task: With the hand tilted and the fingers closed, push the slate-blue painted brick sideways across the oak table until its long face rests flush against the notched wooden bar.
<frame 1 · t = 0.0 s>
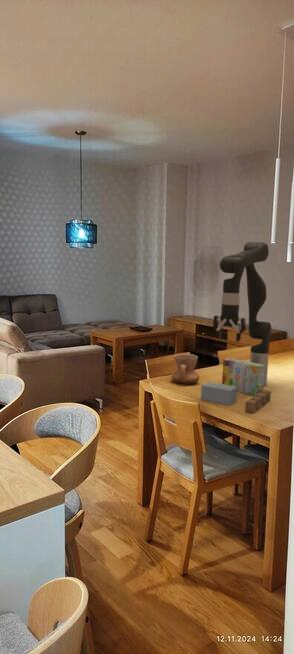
hand: (228, 340, 207), 29 cm above the table, tool pointing down, fingers open, 8 cm apart
snack box: (241, 391, 235), on the table
brick: (218, 401, 218), on the table
notched wooden bar: (258, 406, 212), on the table
ceramic jug: (184, 383, 248), on the table
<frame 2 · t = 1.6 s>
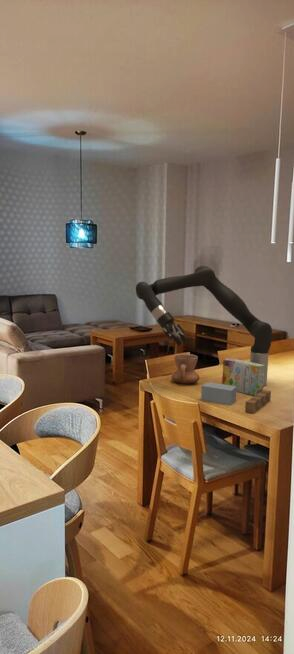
hand: (183, 343, 225), 24 cm above the table, tool tilted 45°, fingers open, 6 cm apart
nothing on the table moved.
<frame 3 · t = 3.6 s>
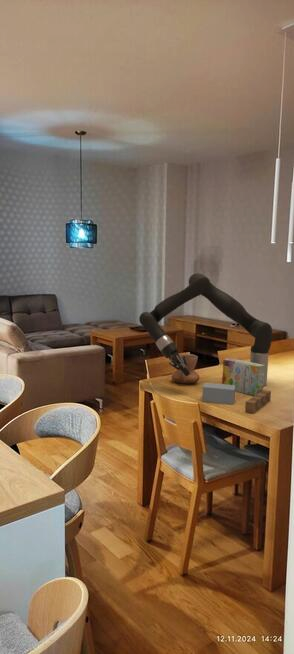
hand: (188, 374, 225), 10 cm above the table, tool tilted 45°, fingers closed
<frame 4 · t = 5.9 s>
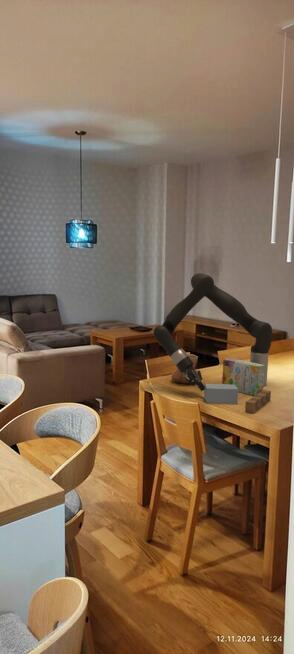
hand: (203, 389, 222), 4 cm above the table, tool tilted 45°, fingers closed
brick: (220, 401, 218), on the table, touching gripper
everything else where it was.
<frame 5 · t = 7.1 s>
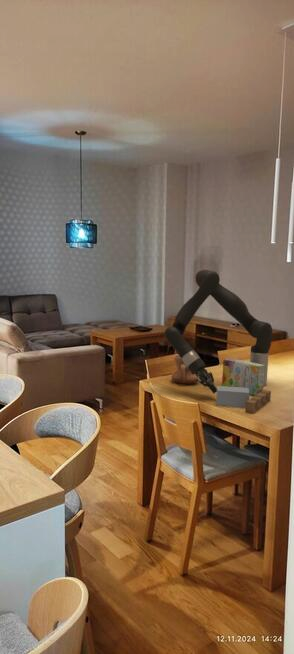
hand: (215, 391, 218), 4 cm above the table, tool tilted 45°, fingers closed
brick: (232, 404, 213), on the table, touching gripper
everything else where it was.
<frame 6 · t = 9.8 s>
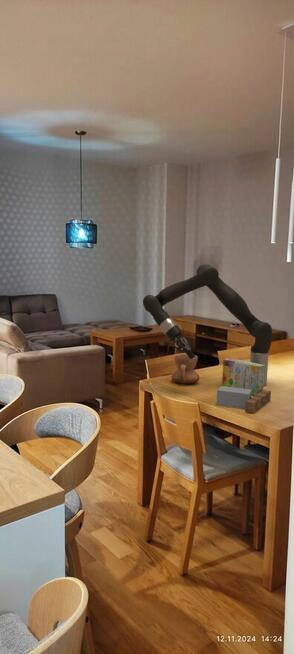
hand: (193, 357, 223), 18 cm above the table, tool tilted 45°, fingers closed
brick: (233, 405, 213), on the table
everything else where it was.
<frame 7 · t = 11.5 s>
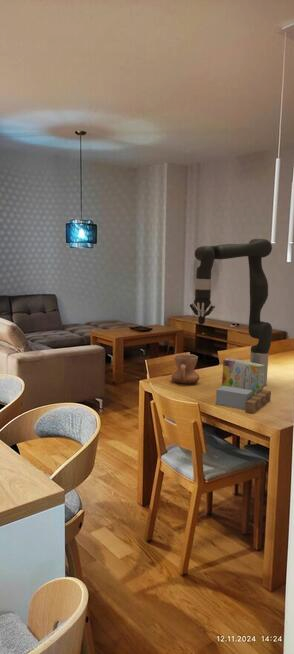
hand: (201, 324, 230), 33 cm above the table, tool pointing down, fingers closed
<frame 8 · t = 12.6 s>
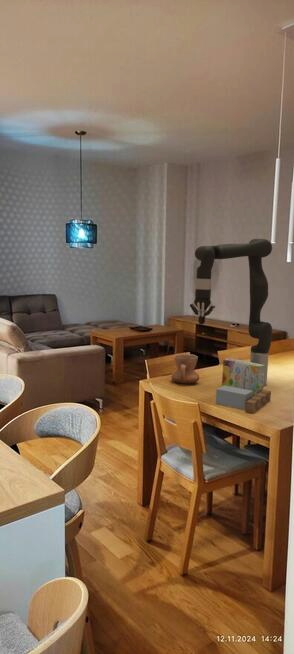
hand: (201, 324, 230), 33 cm above the table, tool pointing down, fingers closed
nothing on the table moved.
at the end: brick inside the target area on the table beside the notched wooden bar (1.6 cm from its centre), on the table; brick tilted 0° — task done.
